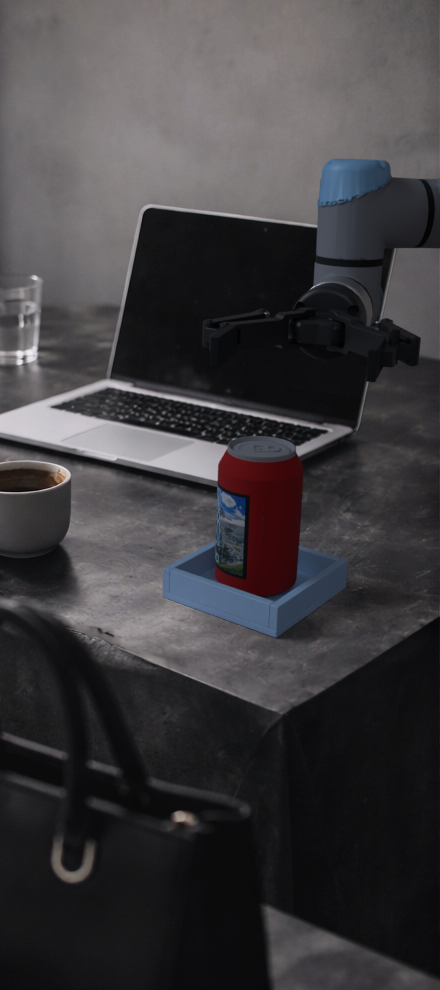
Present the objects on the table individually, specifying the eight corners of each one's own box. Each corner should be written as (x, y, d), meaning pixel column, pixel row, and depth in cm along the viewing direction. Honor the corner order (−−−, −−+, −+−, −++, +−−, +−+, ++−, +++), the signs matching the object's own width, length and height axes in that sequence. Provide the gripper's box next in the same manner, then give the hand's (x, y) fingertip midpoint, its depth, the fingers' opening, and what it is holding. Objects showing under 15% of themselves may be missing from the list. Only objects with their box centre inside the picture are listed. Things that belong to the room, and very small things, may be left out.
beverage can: (212, 567, 83) (216, 432, 79) (291, 567, 84) (299, 433, 79) (216, 604, 77) (220, 459, 73) (301, 604, 77) (310, 460, 73)
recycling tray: (345, 588, 82) (348, 559, 81) (276, 638, 73) (277, 607, 72) (238, 554, 87) (239, 527, 87) (162, 597, 79) (162, 568, 78)
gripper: (449, 363, 101) (436, 416, 81) (215, 344, 106) (152, 389, 87) (457, 290, 98) (446, 326, 79) (217, 274, 104) (152, 304, 85)
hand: (291, 359), depth 83 cm, fingers open, 13 cm apart
